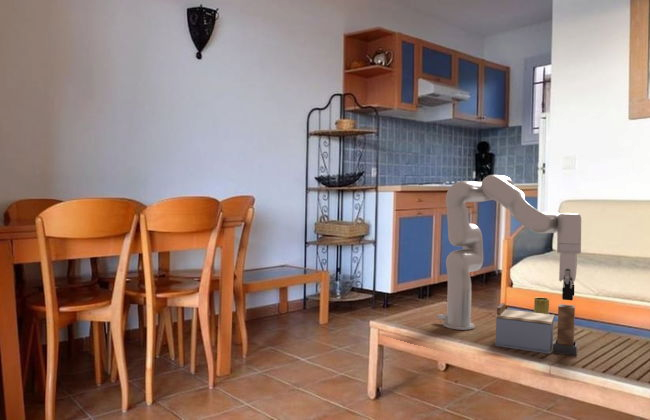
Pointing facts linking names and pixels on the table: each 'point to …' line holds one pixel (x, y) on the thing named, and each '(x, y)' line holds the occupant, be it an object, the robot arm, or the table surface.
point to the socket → (565, 348)
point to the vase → (541, 305)
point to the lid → (523, 315)
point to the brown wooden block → (566, 324)
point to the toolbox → (524, 335)
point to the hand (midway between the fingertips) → (568, 297)
